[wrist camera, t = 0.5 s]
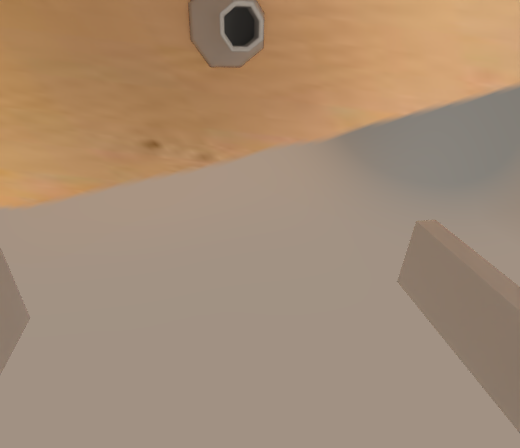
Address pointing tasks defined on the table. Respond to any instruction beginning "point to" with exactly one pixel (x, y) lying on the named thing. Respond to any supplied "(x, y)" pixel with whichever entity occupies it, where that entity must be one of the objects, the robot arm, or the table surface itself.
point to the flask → (226, 30)
